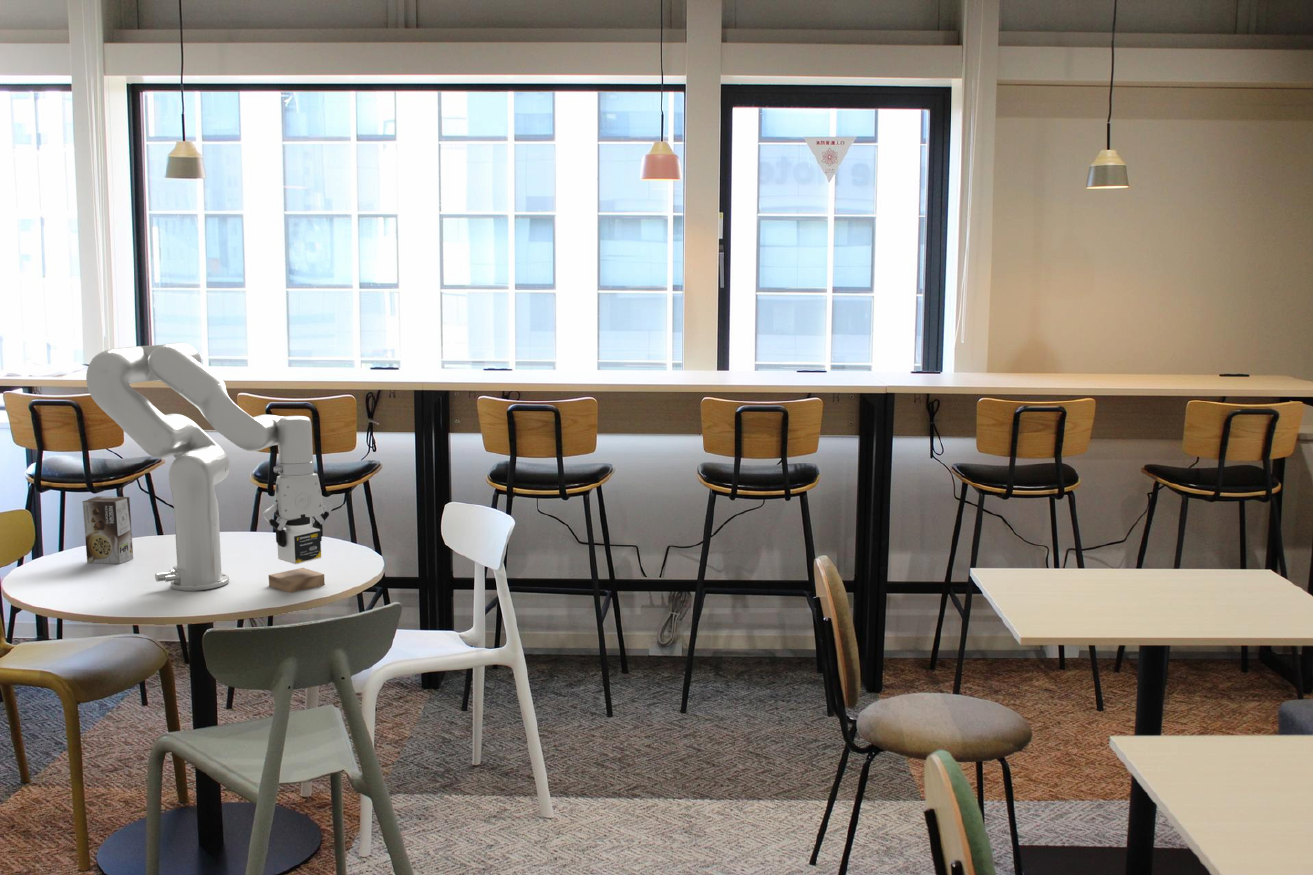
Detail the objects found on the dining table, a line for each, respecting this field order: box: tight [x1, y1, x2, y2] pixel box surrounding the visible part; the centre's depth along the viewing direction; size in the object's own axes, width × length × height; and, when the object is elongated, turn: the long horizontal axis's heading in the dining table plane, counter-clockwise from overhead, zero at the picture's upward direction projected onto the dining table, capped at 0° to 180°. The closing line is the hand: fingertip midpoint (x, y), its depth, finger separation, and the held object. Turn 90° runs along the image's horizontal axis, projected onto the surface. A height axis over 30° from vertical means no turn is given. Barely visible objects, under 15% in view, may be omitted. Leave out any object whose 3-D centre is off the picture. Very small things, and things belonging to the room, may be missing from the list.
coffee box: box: [82, 496, 134, 565], centre depth 274 cm, size 9×6×16 cm
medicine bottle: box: [276, 514, 322, 565], centre depth 253 cm, size 7×7×12 cm
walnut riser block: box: [268, 567, 326, 594], centre depth 253 cm, size 9×9×3 cm
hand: (300, 542), depth 253 cm, fingers closed on medicine bottle, 8 cm apart
